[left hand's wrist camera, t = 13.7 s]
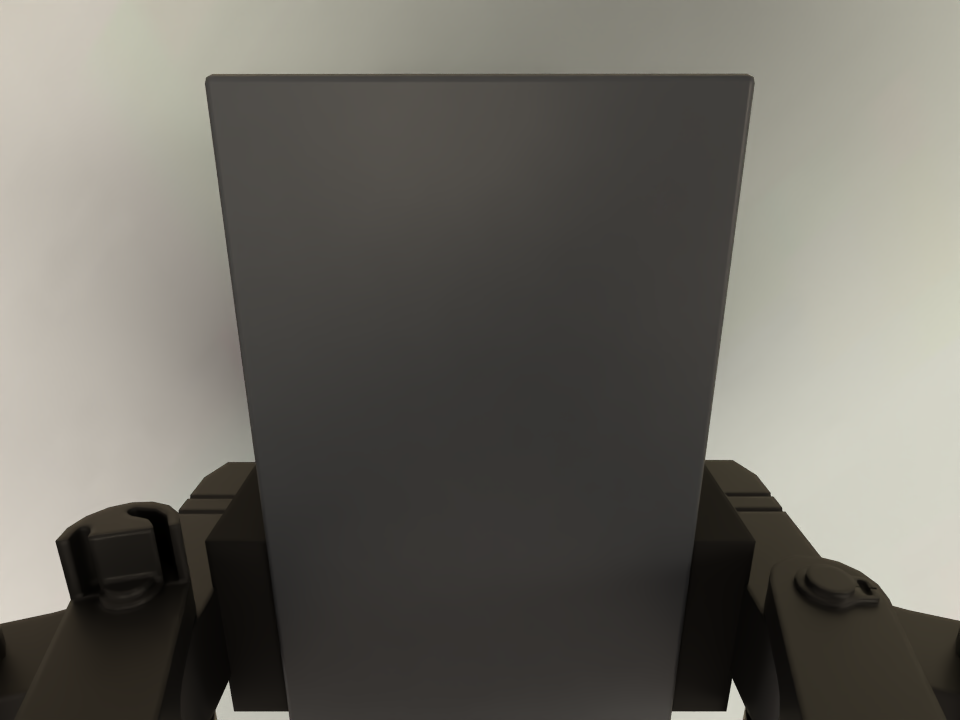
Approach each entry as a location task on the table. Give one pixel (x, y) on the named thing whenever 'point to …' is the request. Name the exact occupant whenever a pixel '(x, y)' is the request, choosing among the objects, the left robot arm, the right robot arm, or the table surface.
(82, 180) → the table surface
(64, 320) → the table surface
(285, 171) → the bar
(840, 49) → the table surface
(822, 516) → the table surface
